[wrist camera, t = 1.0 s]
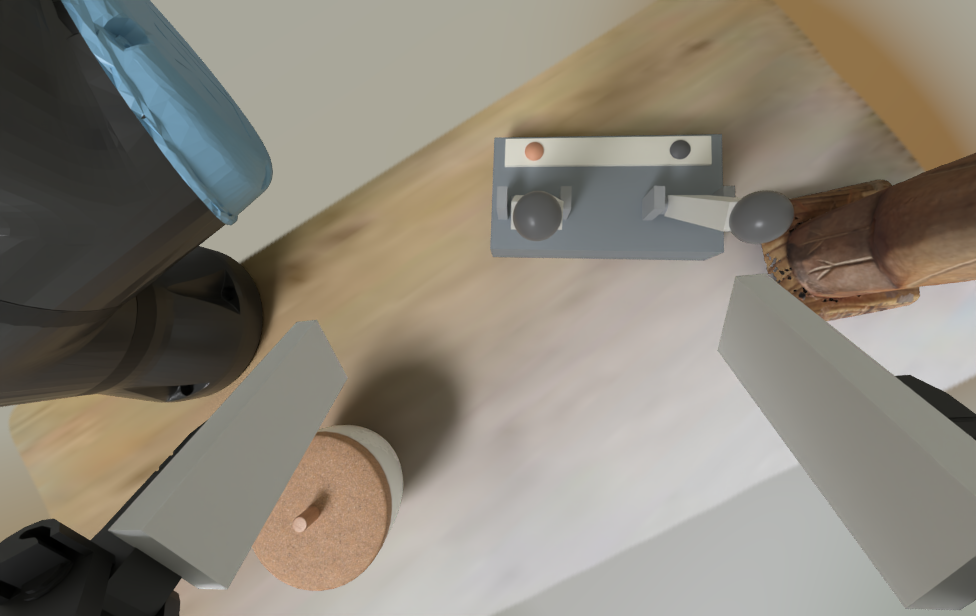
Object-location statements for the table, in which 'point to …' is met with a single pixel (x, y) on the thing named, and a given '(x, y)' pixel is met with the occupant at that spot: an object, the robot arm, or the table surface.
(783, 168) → the table surface
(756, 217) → the lever
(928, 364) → the table surface
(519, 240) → the switch unit
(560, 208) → the marked lever
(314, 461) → the lidded jar
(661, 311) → the table surface
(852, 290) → the bird sculpture
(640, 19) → the table surface
